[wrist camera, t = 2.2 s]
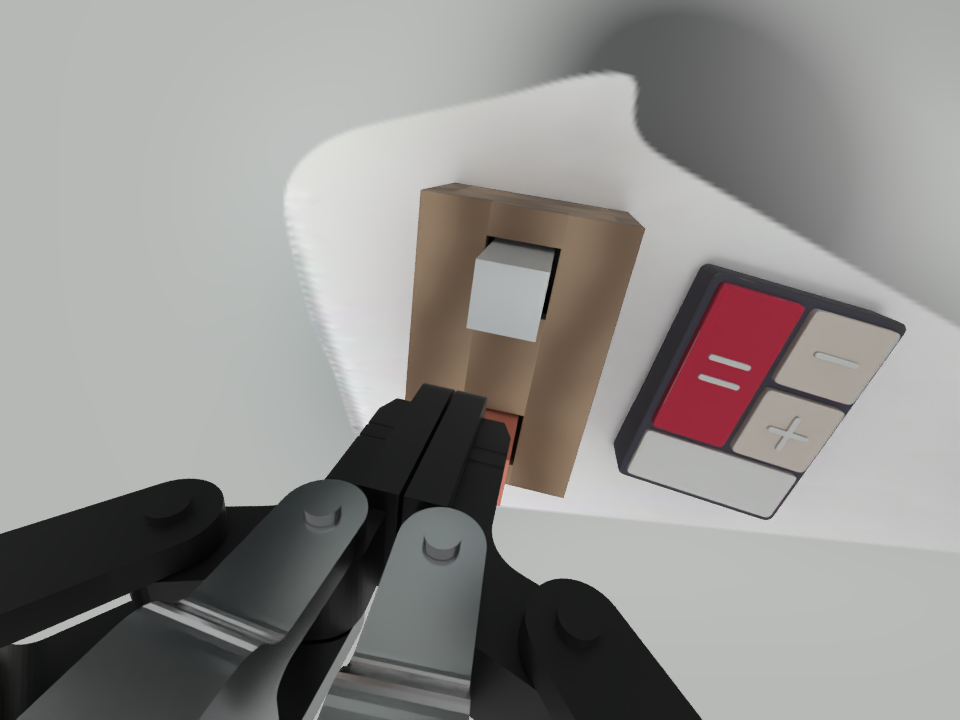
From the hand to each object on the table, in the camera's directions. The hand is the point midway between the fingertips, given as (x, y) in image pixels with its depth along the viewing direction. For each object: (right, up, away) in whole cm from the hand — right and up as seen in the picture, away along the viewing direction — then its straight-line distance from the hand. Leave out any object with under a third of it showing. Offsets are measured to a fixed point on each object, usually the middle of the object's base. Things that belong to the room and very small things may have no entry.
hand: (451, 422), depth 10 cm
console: (+3, +4, +21) cm, 21 cm away
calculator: (+18, 0, +20) cm, 27 cm away
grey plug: (+3, +7, +15) cm, 17 cm away
